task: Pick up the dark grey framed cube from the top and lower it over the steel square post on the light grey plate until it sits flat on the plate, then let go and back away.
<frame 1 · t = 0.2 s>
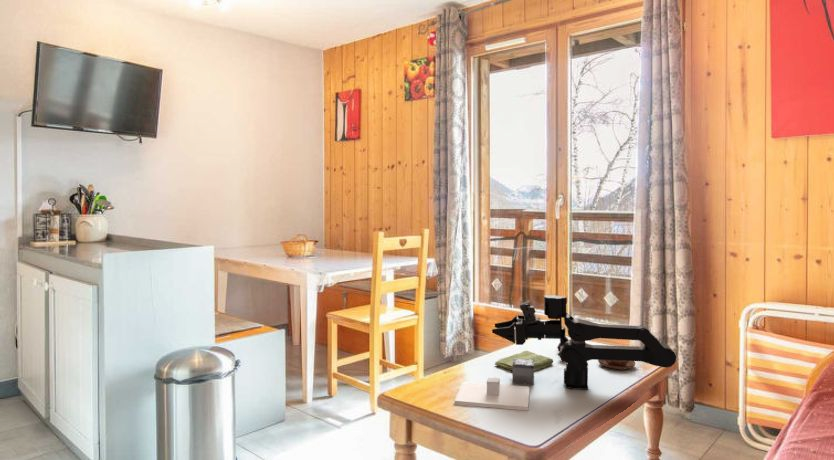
hand: (493, 328, 170), 16 cm above the table, tool horizontal, fingers open, 9 cm apart
dark grey framed cube: (523, 380, 169), on the table
washcloth: (524, 367, 185), on the table
post plate: (493, 396, 156), on the table
bolt: (565, 356, 197), on the table
cup and saucer: (616, 367, 184), on the table
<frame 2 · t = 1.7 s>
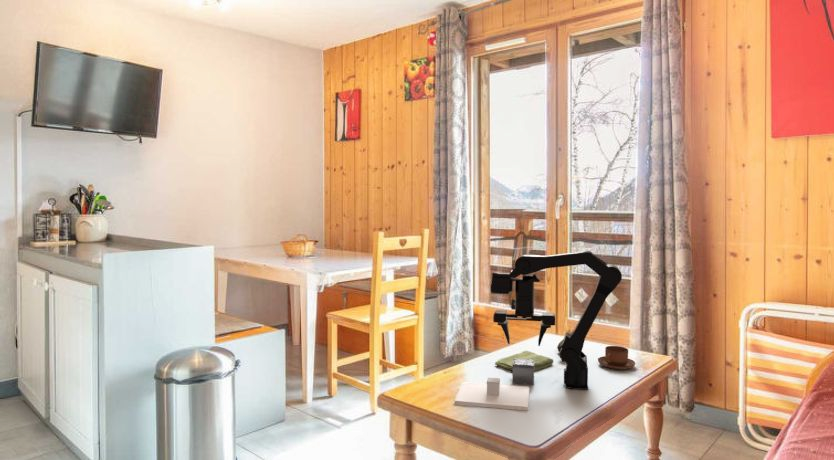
hand: (523, 344, 169), 11 cm above the table, tool pointing down, fingers open, 9 cm apart
nothing on the table moved.
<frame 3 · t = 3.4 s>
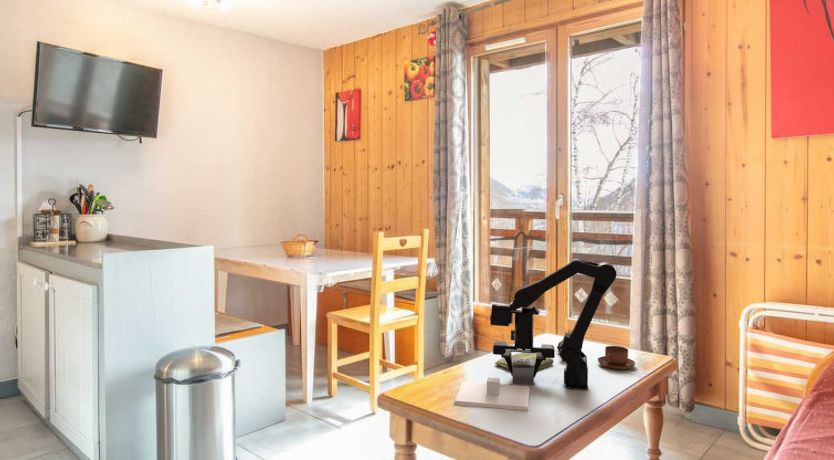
hand: (523, 376, 169), 1 cm above the table, tool pointing down, fingers closed on dark grey framed cube, 6 cm apart
dark grey framed cube: (523, 380, 169), on the table, touching gripper
everything else where it was.
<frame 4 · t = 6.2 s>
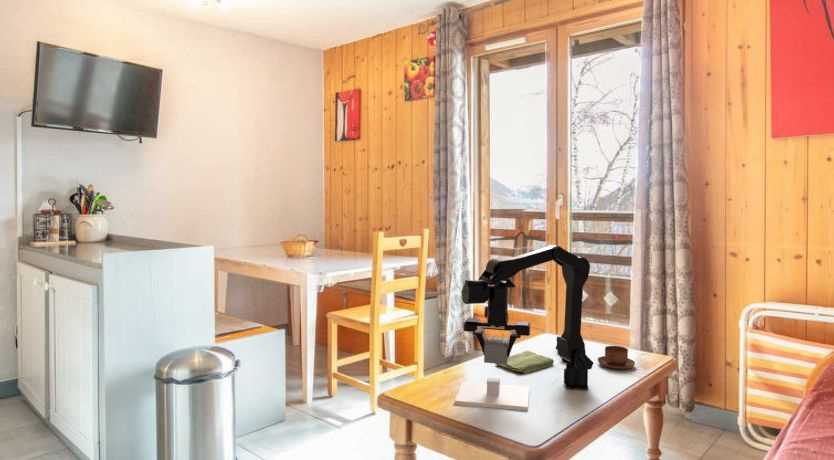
hand: (496, 356, 157), 11 cm above the table, tool pointing down, fingers closed on dark grey framed cube, 6 cm apart
dark grey framed cube: (496, 360, 157), point 10 cm above the table, touching gripper
everything else where it was.
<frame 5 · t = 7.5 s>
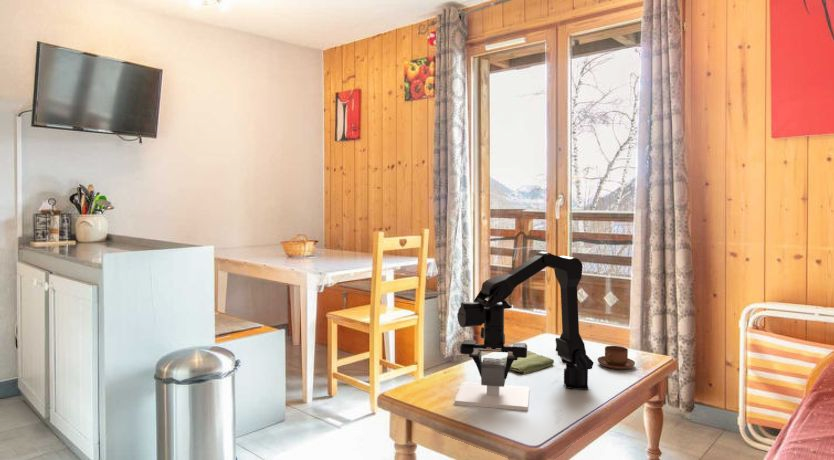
hand: (493, 377, 155), 6 cm above the table, tool pointing down, fingers closed on dark grey framed cube, 6 cm apart
dark grey framed cube: (493, 382, 156), point 4 cm above the table, touching gripper
everything else where it was.
when the fingers open (3 cm above the table, at t = 8.9 s): dark grey framed cube stays where it is, resting on post plate.
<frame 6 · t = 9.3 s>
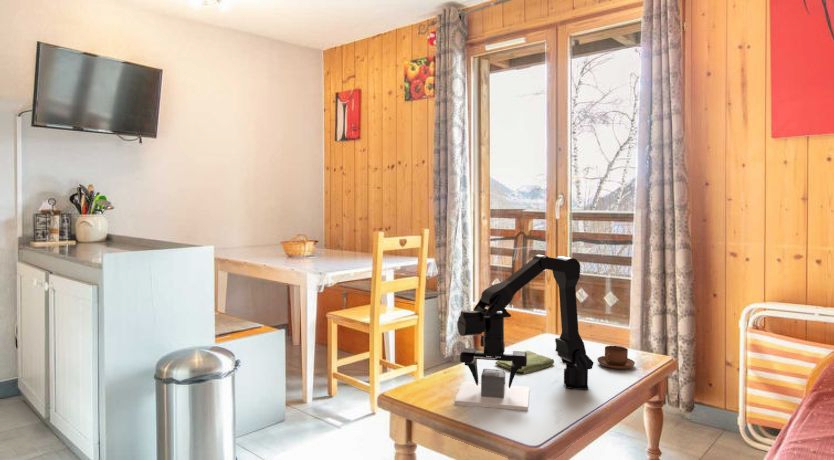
hand: (493, 386, 156), 3 cm above the table, tool pointing down, fingers open, 9 cm apart
dark grey framed cube: (493, 393, 156), point 1 cm above the table, touching post plate
everything else where it was.
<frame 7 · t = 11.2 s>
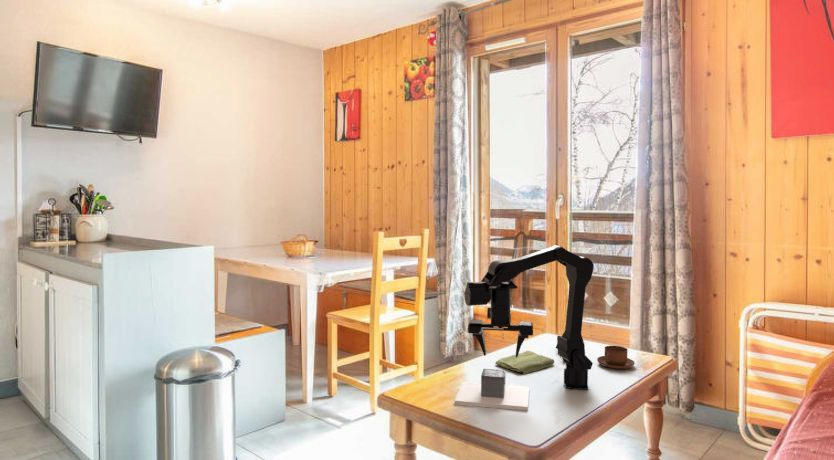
hand: (500, 356, 159), 11 cm above the table, tool pointing down, fingers open, 9 cm apart
nothing on the table moved.
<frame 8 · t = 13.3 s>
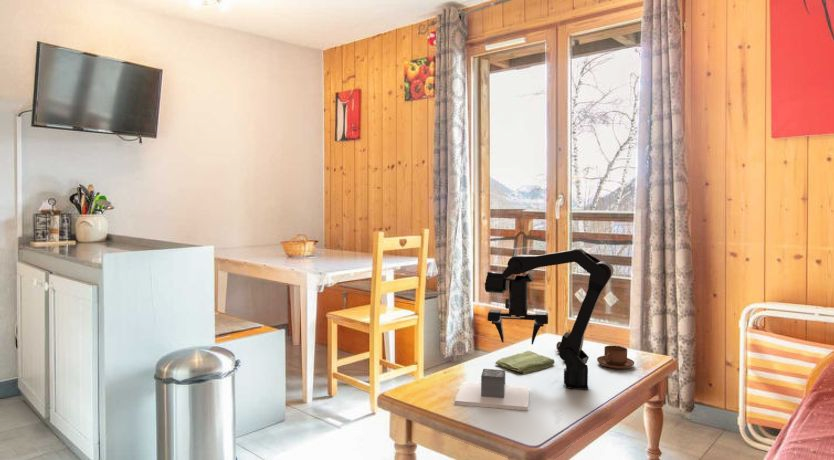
hand: (517, 343, 172), 11 cm above the table, tool pointing down, fingers open, 9 cm apart
nothing on the table moved.
at the end: dark grey framed cube 0.1 cm off-centre on the post plate, point 1.0 cm above the post plate's base; dark grey framed cube tilted 0°; the gripper is holding nothing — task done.
